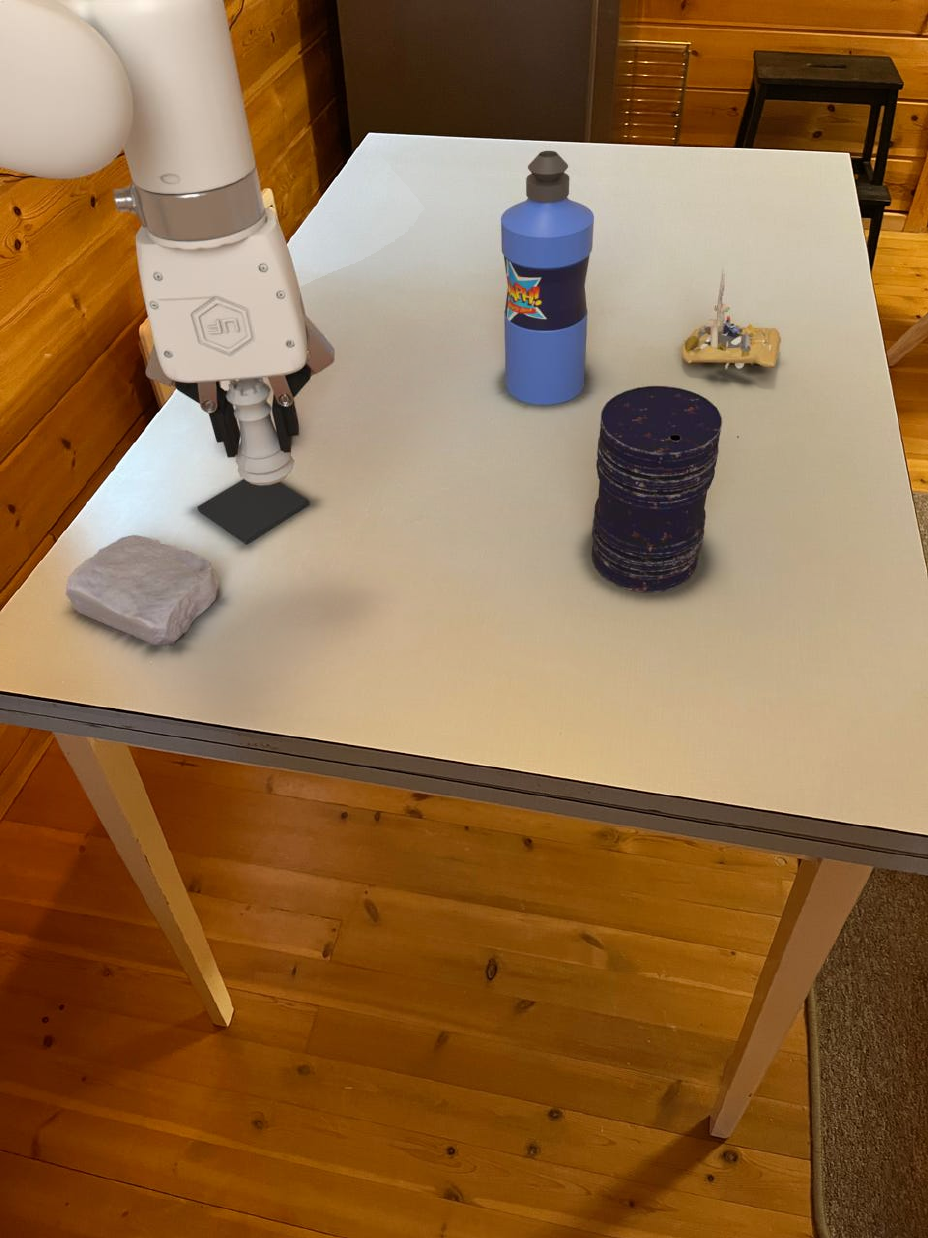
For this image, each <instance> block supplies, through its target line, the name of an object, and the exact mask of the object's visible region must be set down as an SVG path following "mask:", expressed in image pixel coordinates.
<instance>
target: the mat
mask: <svg viewBox="0 0 928 1238" xmlns="http://www.w3.org/2000/svg"><path fill="white" fill-rule="evenodd" d="M308 506H310V500H309V499H308V498H307V497H304V496H303V495H302V494H300V493H298V492H297V491H295V490H293V489H292V488H290V487H289V486H287V485H285V484H284V483H282V482H281V481H280V482H278V483H274V484H271V485H255V484H251V483H249V482H248V481H246V480H245V479H243V478H242V479H241V480H240V481H238V482H236V483H235V484H233V485H231V486H229V487H228V488H226V489H225V490H223V491H221V492H219V493H217V494H216V495H214V496H213V497H211V498H210V499H208V500H206V501H205V502H202V503H200V504H199V505H197V511H198V512H199V513H200V514H201V515H204V516H205V517H206V518H207V519H209V520H211V521H212V522H213V523H215V524H216V525H217V526H219V527H221V528H222V529H223V530H225V531H226V532H228V533H229V534H231V535H232V536H233V537H235V538H236V539H238V540H239V541H241V542H242V543H244V544H245V545H249V544H250V543H252V542H254V541H255V540H256V539H258V538H260V537H261V536H263V535H264V534H265V533H267V532H269V531H271V530H272V529H273V528H275V527H277V526H278V525H280V524H282V523H283V522H285V521H286V520H288V519H289V518H291V517H293V516H294V515H295V514H297V513H298V512H300V511H302V510H303V509H305V508H307V507H308Z"/></svg>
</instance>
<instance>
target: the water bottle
mask: <svg viewBox="0 0 928 1238" xmlns="http://www.w3.org/2000/svg"><path fill="white" fill-rule="evenodd" d="M568 168H569V165H568V163H567V162H566V161H565V160H564V159H563V157H561V155H560V154H558V152H557V151H554V150H543V151H540V152H539V153H538V154H537V155H536V156H535V157H534V159H533V160H532V161H531V162H530V163H529V164H528V165H527V170H528V171H529V172H530V173H529V174H528V175H527V176H526V177H525V196H526V197H527V198H526V199H525V200H523V201H521V202H519V203H516V204H514V205H512V206H510V207H509V208H507V209H506V210H504V211H503V212H502V214H501V217H500V245H501V254H502V255H503V261H504V268H505V274H506V275H505V276H506V284H507V291H506V297H505V298H506V299H505V308H504V312H503V313H504V315H503V316H504V317H503V319H504V322H503V323H504V372H505V373H504V374H505V375H504V376H505V389H506V391H507V393H508V394H509V395H510V396H512V397H513V398H514V399H516V400H518V401H520V402H523V403H526V404H530V405H535V406H553V405H558V404H562V403H565V402H568V401H571V400H573V399H574V398H576V397H578V396H579V395H580V393H582V391H583V389H584V387H585V378H586V377H585V375H586V357H587V355H586V354H587V335H588V313H589V312H588V306H587V305H588V304H587V297H586V296H587V294H586V281H587V275H588V274H587V273H588V269H589V264H590V263H589V262H590V256H591V253H592V251H593V247H594V245H593V244H594V243H593V242H594V227H595V225H594V223H595V222H594V221H595V215H594V213H593V211H592V210H591V209H590V208H589V207H587V206H586V205H584V204H582V203H579V202H577V201H574V200H572V199H570V198H569V195H570V175H569V174H567V173H566V171H567V169H568Z"/></svg>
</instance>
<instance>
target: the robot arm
mask: <svg viewBox="0 0 928 1238" xmlns="http://www.w3.org/2000/svg"><path fill="white" fill-rule="evenodd" d="M225 6H226V5H225V3H224V0H0V168H1V169H4V170H8V171H12V172H15V173H16V172H17V173H21V174H24V175H29V176H33V177H37V178H44V179H51V180H61V179H62V180H72V179H78V178H82V177H83V178H84V177H88V176H91V175H93V174H95V173H97V172H99V171H101V170H103V169H104V168H105V167H107V166H108V165H110V164H112V163H113V161H114V160H115V159H116V158H117V157H118V156H119V155H120V154H121V152H122V151H123V152H124V157H125V159H126V164H127V166H128V170H129V173H130V177H131V183H130V185H125V187H124V188H114V189H113V200H114V204H115V208H116V210H117V212H119V213H124V212H130V213H131V214H136V216H137V217H138V219H140V223H141V226H140V228H139V229H138V231H137V232H136V234H135V248H136V249H135V250H136V258H137V259H136V260H137V266H138V273H139V279H140V285H141V290H142V294H143V300H144V304H145V311H146V314H147V318H148V322H149V327H150V331H151V335H152V340H153V346H152V349H151V351H150V354H149V359H148V362H147V364H146V368H145V376H146V377H147V378H148V379H150V380H152V381H155V382H157V383H160V384H162V385H166V386H168V387H174V388H175V389H176V390H177V391H178V392H180V393H181V394H183V395H185V396H186V397H188V398H189V399H191V400H193V401H194V402H195V403H197V404H198V405H199V406H200V409H201V411H203V412H205V413H207V414H208V417H209V420H210V423H211V427H212V430H213V434H214V437H215V441H216V443H223V445H224V446H223V447H224V449H225V454H226V457H227V458H236V456H237V455H238V450H239V442H240V430H239V426H238V422H237V418H236V417H235V415H234V411H235V410H234V407H233V404H232V403H230V402H229V401H228V400H227V398H226V395H227V390H226V391H224V389H222V388H221V381H227V380H239V379H251V378H262V377H268V379H269V382H270V385H271V387H272V390H273V392H274V394H273V403H272V414H273V419H274V423H275V428H276V432H277V436H278V441H279V445H280V450H281V451H283V452H284V453H287V452H291V453H292V444H293V443H292V442H293V437H297V436H299V435H300V425H299V424H300V423H299V418H298V413H297V408H296V404H295V403H296V402H295V397H297V395H298V394H299V393H300V392H301V391H302V389H303V388H304V387H305V386H306V385H307V384H308V383H309V382H310V380H311V378H312V377H313V376H315V375H318V374H319V373H321V372H322V371H324V370H325V369H327V368H328V367H329V366H332V365H333V363H334V362H335V354H336V353H335V348H334V346H333V345H332V344H331V343H330V342H329V340H328V339H327V338H326V337H325V335H324V334H323V333H322V332H321V331H320V330H319V328H318V327H317V326H316V325H315V324H314V323H313V321H312V320H311V319H310V318H309V317H308V316H307V315H306V310H305V305H304V301H303V297H302V292H301V289H300V285H299V280H298V278H297V273H296V270H295V266H294V263H293V259H292V257H291V252H290V250H289V246H288V244H287V241H286V238H285V235H284V232H283V230H282V228H281V225H280V222H279V220H278V217H277V216H276V213H275V211H273V210H272V209H271V208H269V207H265V205H264V200H263V194H262V189H261V185H260V184H261V183H260V179H259V174H258V169H257V164H256V158H255V154H254V148H253V144H252V143H253V142H252V139H251V134H250V128H249V123H248V118H247V113H246V107H245V102H244V97H243V92H242V87H241V83H240V77H239V73H238V68H237V67H238V66H237V61H236V57H235V52H234V47H233V41H232V37H231V36H232V35H231V31H230V26H229V21H228V16H227V11H226V7H225Z"/></svg>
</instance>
